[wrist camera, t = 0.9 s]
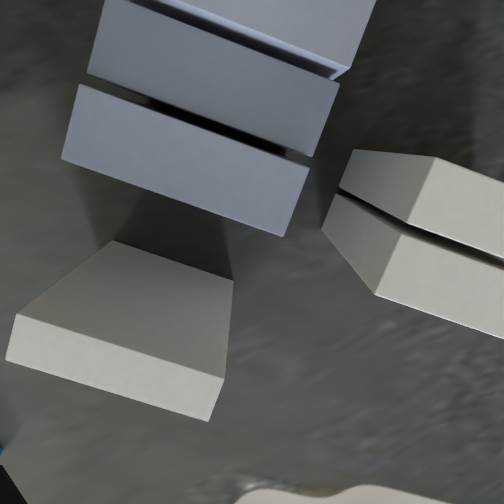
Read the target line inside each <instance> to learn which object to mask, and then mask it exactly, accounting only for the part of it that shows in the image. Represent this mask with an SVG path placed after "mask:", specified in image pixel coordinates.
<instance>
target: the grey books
mask: <svg viewBox="0 0 504 504" xmlns="http://www.w3.org/2000/svg"><path fill="white" fill-rule="evenodd" d="M375 2H376V0H128V1H127V0H105V1H104V5H103V9H102V13H101V17H100V21H99V25H98V29H97V33H96V37H95V41H94V45H93V49H92V53H91V57H90V61H89V65H88V69H87V74H89V75H91V76H94V77H96V78H99V79H101V80H104V81H106V82H109V83H111V84H114V85H116V86H119V87H121V88H124V89H126V90H128V91H131V92H133V93H136V94H138V95H141V96H143V97H146V98H148V99H151V100H154V101H156V102H159V103H162V104H165V105H167V106H170V107H173V108H175V109H178V110H181V111H183V112H186V113H189V114H192V115H194V116H197V117H200V118H202V119H205V120H208V121H210V122H213V123H216V124H219V125H221V126H224V127H227V128H229V129H232V130H235V131H237V132H240V133H243V134H246V135H248V136H251V137H254V138H256V139H259V140H262V141H264V142H267V143H270V144H273V145H275V146H278V147H281V148H283V149H286V150H289V151H293V152H296V153H300V154H303V155H307V156H310V157H312V156H313V154H314V151H315V149H316V146H317V143H318V141H319V138H320V136H321V133H322V130H323V128H324V125H325V123H326V120H327V117H328V115H329V112H330V110H331V107H332V104H333V102H334V99H335V96H336V94H337V91H338V89H339V86H340V84H339V83H337V82H335V81H332V80H333V79H335V78H336V77H338V76H339V75H341V74H342V73H344V72H345V71H347V70H348V69H350V67H351V64H352V62H353V59H354V57H355V54H356V51H357V49H358V46H359V44H360V41H361V38H362V36H363V33H364V31H365V28H366V25H367V23H368V20H369V18H370V15H371V12H372V10H373V7H374V5H375ZM61 159H62V160H65V161H68V162H70V163H73V164H76V165H79V166H82V167H85V168H88V169H90V170H93V171H96V172H99V173H102V174H105V175H108V176H110V177H113V178H116V179H119V180H122V181H125V182H128V183H130V184H133V185H136V186H139V187H142V188H145V189H147V190H150V191H153V192H156V193H159V194H162V195H165V196H167V197H170V198H173V199H176V200H179V201H182V202H185V203H187V204H190V205H193V206H196V207H199V208H202V209H205V210H207V211H210V212H213V213H216V214H219V215H222V216H225V217H227V218H230V219H233V220H236V221H239V222H242V223H244V224H247V225H250V226H253V227H256V228H259V229H262V230H264V231H267V232H270V233H273V234H276V235H279V236H282V237H283V236H284V234H285V232H286V229H287V226H288V224H289V221H290V218H291V216H292V213H293V211H294V208H295V205H296V203H297V200H298V198H299V195H300V192H301V190H302V187H303V185H304V182H305V179H306V177H307V174H308V172H309V167H306V166H304V165H302V164H300V163H298V162H296V161H294V160H292V159H289V158H287V157H285V156H282V155H280V154H277V153H274V152H272V151H269V150H266V149H263V148H261V147H258V146H255V145H253V144H250V143H247V142H244V141H242V140H239V139H236V138H234V137H231V136H228V135H225V134H223V133H220V132H217V131H215V130H212V129H209V128H206V127H204V126H201V125H198V124H196V123H193V122H190V121H187V120H185V119H182V118H179V117H177V116H174V115H171V114H168V113H166V112H163V111H160V110H158V109H155V108H152V107H149V106H147V105H144V104H141V103H138V102H135V101H132V100H129V99H126V98H123V97H120V96H117V95H114V94H111V93H108V92H105V91H101V90H98V89H95V88H92V87H89V86H86V85H83V84H79V87H78V91H77V95H76V99H75V103H74V107H73V111H72V115H71V119H70V123H69V127H68V131H67V135H66V139H65V143H64V147H63V151H62V155H61Z"/></svg>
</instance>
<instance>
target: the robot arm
mask: <svg viewBox="0 0 504 504" xmlns="http://www.w3.org/2000/svg"><path fill="white" fill-rule="evenodd" d="M0 504H27V502H26V501H25V499H24V498H23V496H22V495H21V493H20V492H19V490H18V489H17V487H16V485H15V484H14V482H13V481H12V479H11V478H10V476H9V475H8V473H7V472H6V470H5V469H4V467H3V466H2V465H0Z"/></svg>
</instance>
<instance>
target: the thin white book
mask: <svg viewBox="0 0 504 504" xmlns="http://www.w3.org/2000/svg"><path fill="white" fill-rule="evenodd" d="M232 293H233V281H232V280H229V279H226V278H223V277H220V276H217V275H214V274H211V273H208V272H205V271H202V270H199V269H196V268H193V267H190V266H187V265H184V264H181V263H178V262H175V261H172V260H169V259H167V258H164V257H161V256H158V255H155V254H152V253H149V252H146V251H143V250H140V249H137V248H134V247H131V246H128V245H125V244H122V243H119V242H116V241H113V240H112V241H111V242H110V243H108V244H107V245H106V246H104V247H103V248H102V249H101V250H99V251H98V252H97V253H95V254H94V255H93V256H91V257H90V258H89V259H87V260H86V261H85V262H83V263H82V264H81V265H79V266H78V267H77V268H75V269H74V270H73V271H72V272H70V273H69V274H68V275H66V276H65V277H64V278H62V279H61V280H60V281H58V282H57V283H56V284H54V285H53V286H52V287H50V288H49V289H48V290H46V291H45V292H44V293H43V294H41V295H40V296H39V297H37V298H36V299H35V300H33V301H32V302H31V303H29V304H28V305H27V306H25V307H24V308H23V309H21V310H20V311H19V312H17V313H16V317H15V321H14V325H13V329H12V333H11V337H10V341H9V345H8V349H7V353H6V358H5V360H7V361H10V362H13V363H17V364H20V365H23V366H27V367H30V368H33V369H36V370H40V371H43V372H46V373H50V374H53V375H56V376H59V377H63V378H66V379H69V380H73V381H76V382H79V383H82V384H86V385H89V386H92V387H96V388H99V389H102V390H106V391H109V392H112V393H115V394H119V395H122V396H125V397H129V398H132V399H135V400H138V401H142V402H145V403H148V404H152V405H155V406H158V407H161V408H165V409H168V410H171V411H175V412H178V413H181V414H184V415H188V416H191V417H194V418H198V419H201V420H204V421H209V418H210V416H211V413H212V410H213V408H214V405H215V402H216V400H217V397H218V395H219V392H220V389H221V387H222V384H223V381H224V378H225V367H226V357H227V346H228V335H229V325H230V314H231V303H232Z"/></svg>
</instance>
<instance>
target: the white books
mask: <svg viewBox="0 0 504 504" xmlns="http://www.w3.org/2000/svg"><path fill="white" fill-rule="evenodd" d="M339 187H340V188H342V189H343V190H345V191H347V192H349V193H351V194H353V195H355V196H357V197H359V198H360V199H362V200H364V201H366V202H368V203H370V204H372V205H374V206H376V207H377V208H375V207H373V206H370V205H367V204H364V203H362V202H359V201H356V200H353V199H351V198H348V197H345V196H342V195H340V194H337V193H336V194H335V196H334V198H333V201H332V203H331V206H330V208H329V211H328V213H327V216H326V218H325V221H324V223H323V226H322V228H321V230H322V231H323V232H324V233H325V235H326V236H327V237H328V238H329V239H330V241H331V242H332V243H333V244H334V246H335V247H336V248H337V249H338V250H339V252H340V253H341V254H342V255H343V257H344V258H345V259H346V260H347V261H348V263H349V264H350V265H351V266H352V268H353V269H354V270H355V271H356V272H357V274H358V275H359V276H360V277H361V279H362V280H363V281H364V282H365V283H366V285H367V286H368V287H369V288H370V290H371V291H372V292H373V293H374V294H375V295H377V296H380V297H383V298H386V299H389V300H392V301H395V302H398V303H401V304H403V305H406V306H409V307H412V308H415V309H418V310H421V311H424V312H427V313H430V314H433V315H435V316H438V317H441V318H444V319H447V320H450V321H453V322H456V323H459V324H462V325H464V326H467V327H470V328H473V329H476V330H479V331H482V332H485V333H488V334H491V335H493V336H496V337H499V338H502V339H504V260H503V259H501V258H504V183H503V182H501V181H498V180H495V179H493V178H490V177H488V176H485V175H482V174H480V173H477V172H475V171H472V170H469V169H467V168H464V167H461V166H459V165H456V164H454V163H451V162H448V161H446V160H443V159H440V158H438V157H431V156H420V155H410V154H400V153H390V152H380V151H370V150H359V149H353V151H352V154H351V156H350V159H349V161H348V164H347V166H346V169H345V171H344V174H343V176H342V179H341V181H340V184H339ZM378 208H379V209H378ZM492 254H493V255H492ZM495 255H496V256H495ZM497 256H499V257H501V258H499V257H497Z"/></svg>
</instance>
